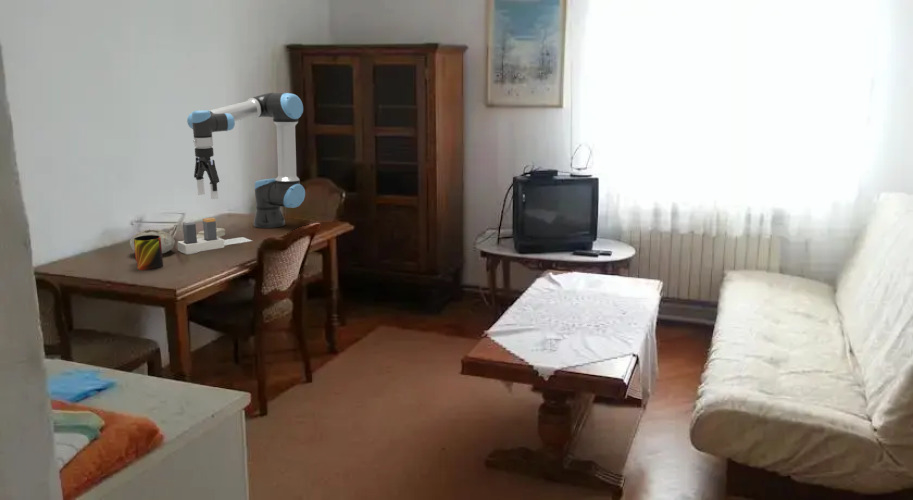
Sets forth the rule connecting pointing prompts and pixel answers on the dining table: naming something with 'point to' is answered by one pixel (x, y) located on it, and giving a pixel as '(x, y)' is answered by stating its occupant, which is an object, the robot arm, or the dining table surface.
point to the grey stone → (166, 238)
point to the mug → (148, 252)
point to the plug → (209, 229)
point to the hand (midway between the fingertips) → (207, 196)
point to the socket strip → (200, 245)
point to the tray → (236, 240)
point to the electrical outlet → (219, 232)
